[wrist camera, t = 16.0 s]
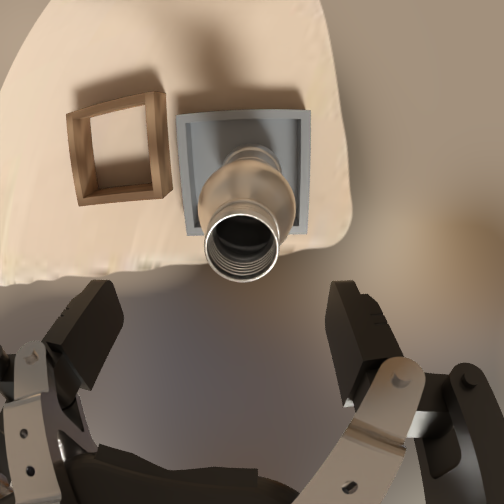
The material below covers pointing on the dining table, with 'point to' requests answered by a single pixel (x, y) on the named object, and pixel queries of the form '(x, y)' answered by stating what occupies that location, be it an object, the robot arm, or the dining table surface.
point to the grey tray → (234, 135)
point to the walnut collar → (85, 159)
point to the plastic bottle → (246, 213)
